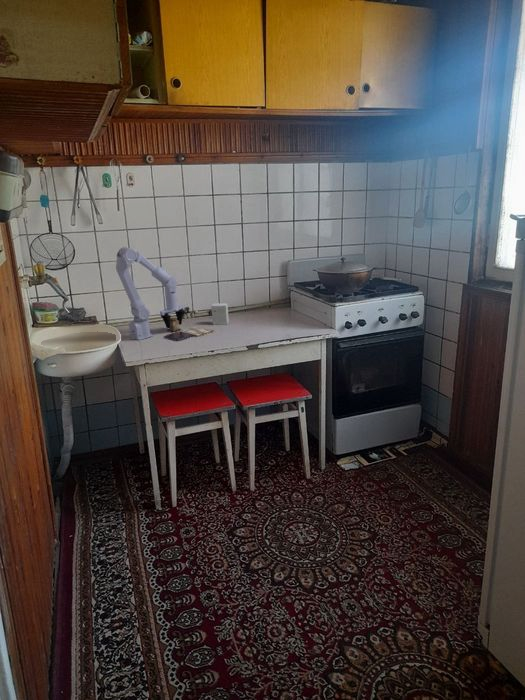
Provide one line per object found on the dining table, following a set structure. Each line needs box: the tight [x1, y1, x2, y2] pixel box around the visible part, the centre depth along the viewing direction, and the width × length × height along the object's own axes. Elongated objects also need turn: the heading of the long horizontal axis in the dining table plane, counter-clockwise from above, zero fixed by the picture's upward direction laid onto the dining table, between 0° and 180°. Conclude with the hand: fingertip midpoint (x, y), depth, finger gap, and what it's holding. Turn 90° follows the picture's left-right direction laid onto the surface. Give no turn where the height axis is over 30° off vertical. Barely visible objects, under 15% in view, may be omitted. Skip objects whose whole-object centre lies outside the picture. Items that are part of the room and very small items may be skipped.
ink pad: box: [163, 331, 194, 342], centre depth 243 cm, size 9×11×1 cm
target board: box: [179, 326, 215, 338], centre depth 250 cm, size 11×13×1 cm
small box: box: [210, 302, 230, 326], centre depth 264 cm, size 8×6×10 cm
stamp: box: [167, 317, 182, 333], centre depth 254 cm, size 5×5×7 cm
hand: (174, 326), depth 254 cm, fingers open, 7 cm apart
